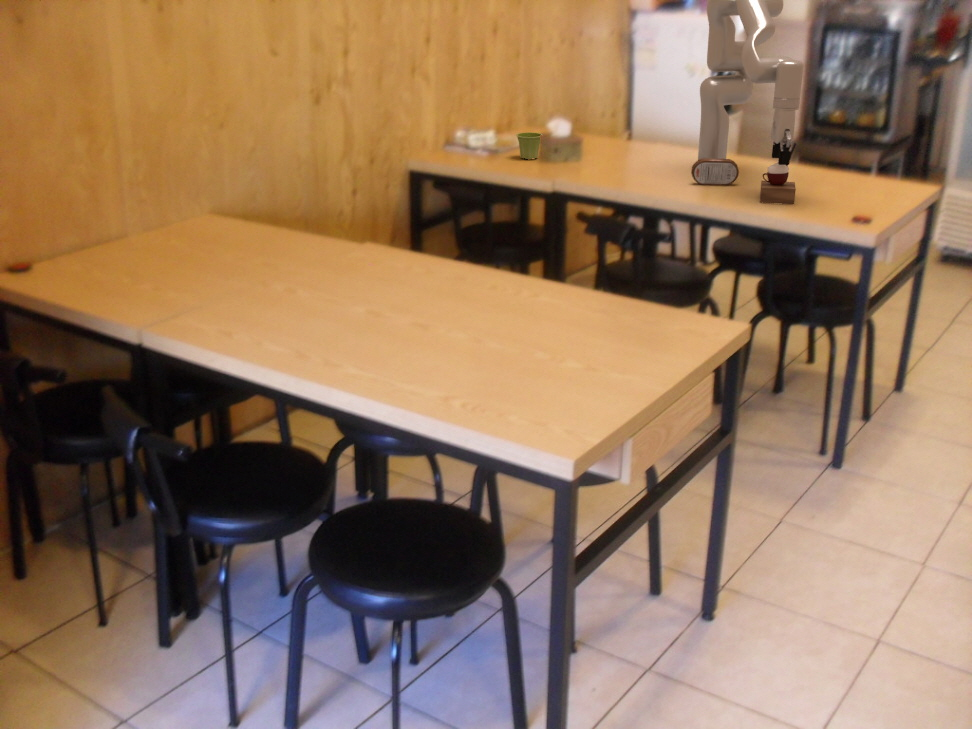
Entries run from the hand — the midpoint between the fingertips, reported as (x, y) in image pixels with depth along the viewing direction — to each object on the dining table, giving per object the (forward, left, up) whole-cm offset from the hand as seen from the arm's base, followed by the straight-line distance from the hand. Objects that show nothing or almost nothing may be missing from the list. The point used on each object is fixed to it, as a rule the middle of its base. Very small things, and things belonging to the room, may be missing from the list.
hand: (780, 161), depth 313 cm
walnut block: (0, 0, -12) cm, 12 cm away
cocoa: (0, 0, -7) cm, 7 cm away
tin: (-20, -16, -12) cm, 28 cm away
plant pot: (-60, -77, -12) cm, 98 cm away
